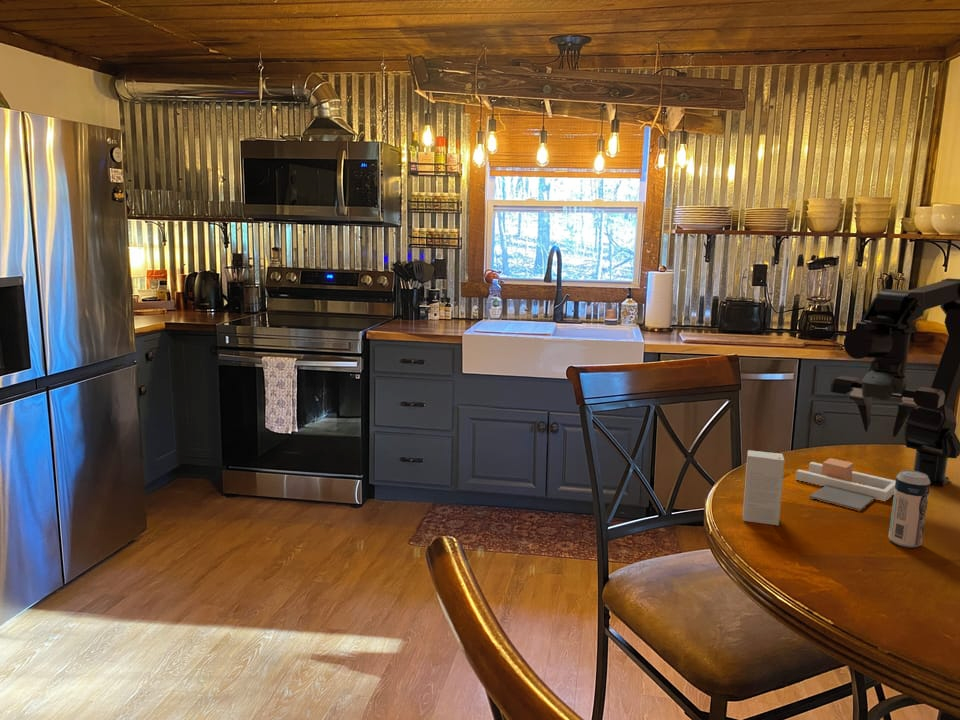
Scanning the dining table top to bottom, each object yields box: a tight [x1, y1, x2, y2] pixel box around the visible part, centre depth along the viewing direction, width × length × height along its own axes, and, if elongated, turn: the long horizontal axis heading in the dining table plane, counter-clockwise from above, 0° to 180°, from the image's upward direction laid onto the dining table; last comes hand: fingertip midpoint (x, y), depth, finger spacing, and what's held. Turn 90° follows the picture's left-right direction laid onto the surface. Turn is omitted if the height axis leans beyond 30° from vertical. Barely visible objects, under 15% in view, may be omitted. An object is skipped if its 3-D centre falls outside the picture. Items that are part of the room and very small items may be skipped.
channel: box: [795, 461, 896, 502], centre depth 145 cm, size 9×17×2 cm, turn 46°
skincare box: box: [742, 449, 786, 526], centre depth 126 cm, size 6×4×12 cm
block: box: [822, 457, 854, 481], centre depth 147 cm, size 4×4×4 cm
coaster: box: [809, 485, 875, 510], centre depth 138 cm, size 9×9×1 cm
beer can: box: [887, 469, 931, 549], centre depth 117 cm, size 5×5×12 cm
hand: (880, 434), depth 140 cm, fingers open, 5 cm apart
